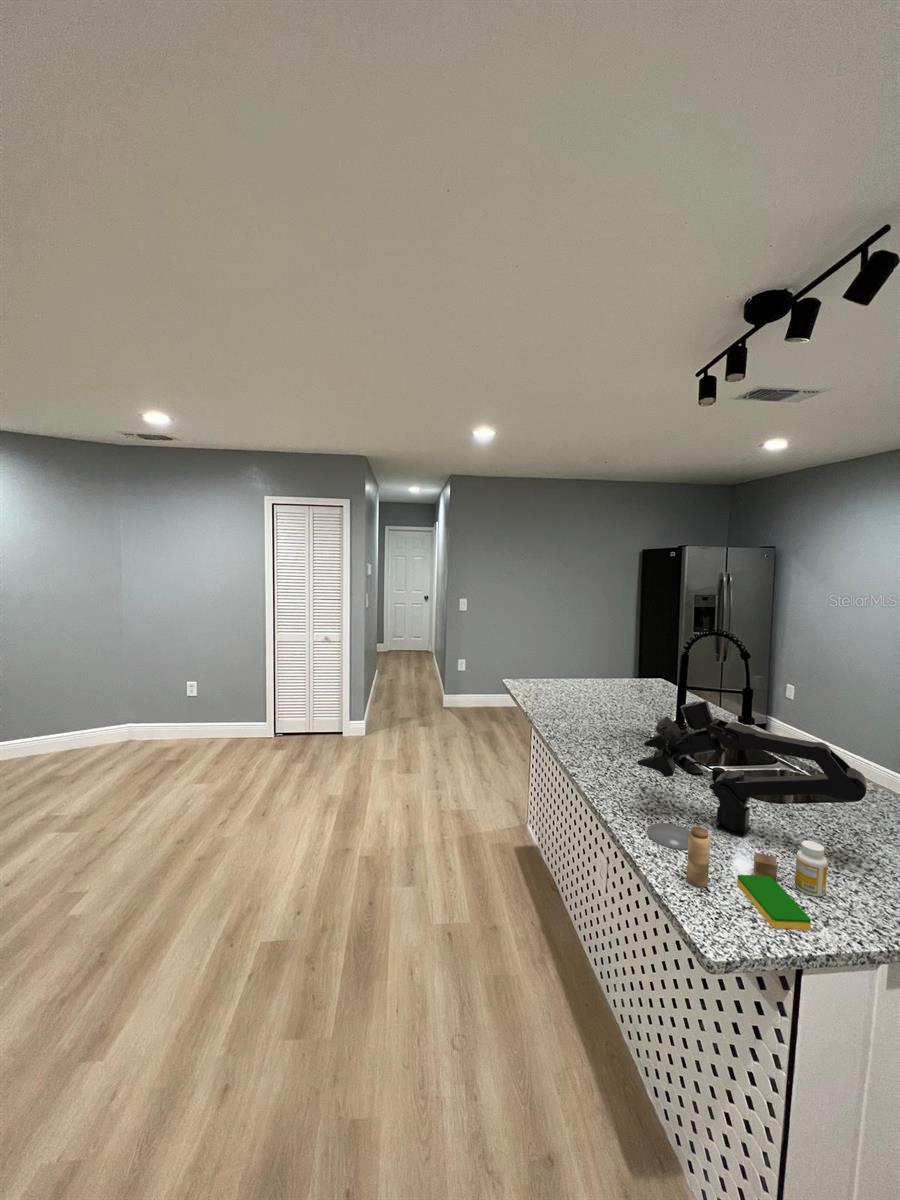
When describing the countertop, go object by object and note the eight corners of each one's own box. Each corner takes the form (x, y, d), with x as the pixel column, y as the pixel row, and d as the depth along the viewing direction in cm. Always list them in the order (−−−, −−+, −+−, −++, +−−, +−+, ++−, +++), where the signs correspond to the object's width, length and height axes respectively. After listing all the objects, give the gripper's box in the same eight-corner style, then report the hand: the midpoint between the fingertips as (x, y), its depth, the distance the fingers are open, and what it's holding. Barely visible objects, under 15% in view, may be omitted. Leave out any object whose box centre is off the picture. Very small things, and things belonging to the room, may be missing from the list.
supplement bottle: (812, 881, 114) (816, 838, 113) (831, 897, 108) (835, 852, 107) (788, 881, 113) (791, 838, 113) (806, 897, 108) (809, 852, 107)
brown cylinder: (710, 881, 113) (713, 830, 112) (703, 890, 110) (706, 837, 109) (691, 873, 116) (693, 823, 115) (683, 881, 113) (685, 830, 112)
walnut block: (774, 874, 116) (775, 856, 116) (776, 883, 113) (777, 866, 112) (753, 869, 118) (754, 852, 118) (754, 878, 114) (756, 861, 114)
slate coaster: (706, 837, 131) (706, 836, 131) (686, 855, 123) (686, 854, 123) (659, 819, 140) (659, 818, 140) (638, 835, 131) (638, 834, 131)
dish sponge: (769, 886, 112) (770, 875, 112) (811, 931, 98) (812, 919, 98) (736, 884, 113) (736, 874, 112) (772, 930, 99) (773, 918, 99)
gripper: (686, 700, 147) (634, 712, 157) (676, 736, 132) (620, 748, 142) (704, 733, 148) (652, 744, 157) (696, 773, 133) (639, 782, 142)
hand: (641, 753), depth 150 cm, fingers open, 9 cm apart
